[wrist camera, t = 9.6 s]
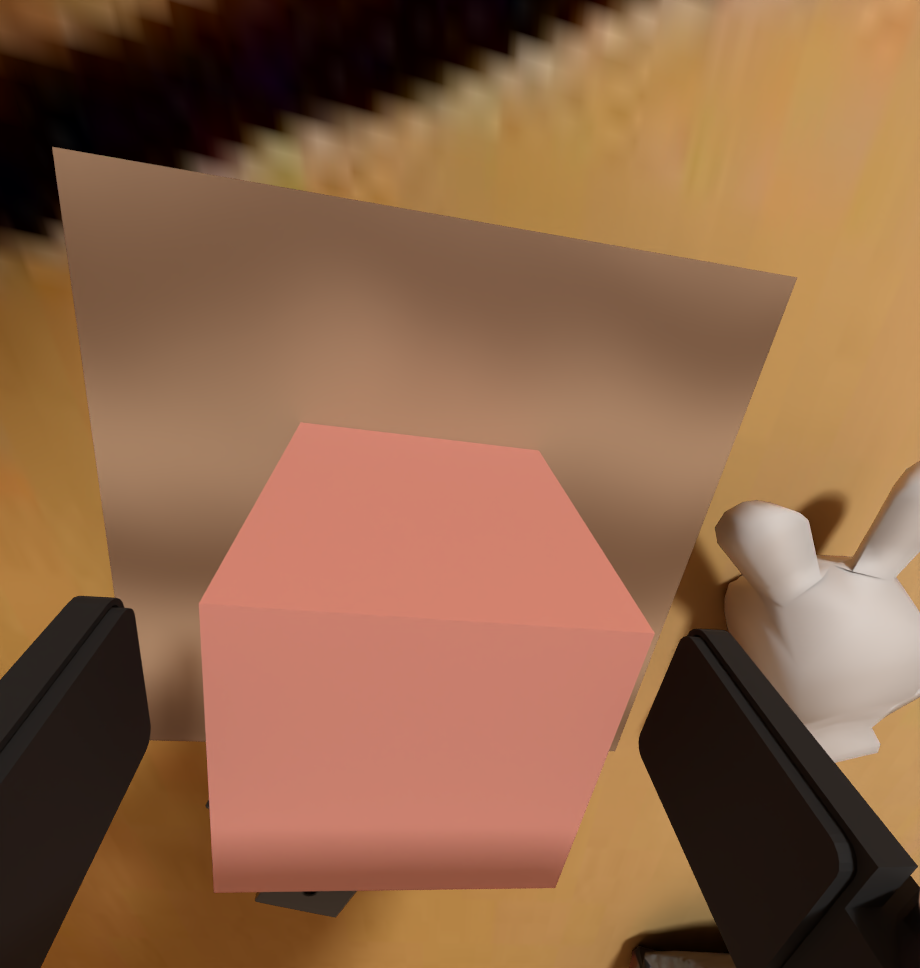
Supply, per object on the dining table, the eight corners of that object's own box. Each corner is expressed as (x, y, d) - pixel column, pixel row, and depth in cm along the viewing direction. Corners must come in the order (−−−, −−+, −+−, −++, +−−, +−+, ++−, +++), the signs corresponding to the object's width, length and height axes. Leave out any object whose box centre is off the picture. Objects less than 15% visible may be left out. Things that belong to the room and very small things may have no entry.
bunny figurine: (717, 829, 23) (747, 574, 15) (664, 721, 27) (664, 479, 19) (934, 778, 22) (1083, 493, 14) (846, 678, 27) (923, 417, 19)
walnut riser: (161, 175, 15) (52, 146, 10) (692, 267, 17) (797, 277, 12) (192, 632, 21) (134, 740, 16) (574, 652, 23) (614, 751, 19)
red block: (300, 422, 13) (198, 603, 6) (539, 450, 14) (654, 633, 7) (293, 619, 15) (213, 893, 9) (496, 632, 16) (555, 887, 10)
